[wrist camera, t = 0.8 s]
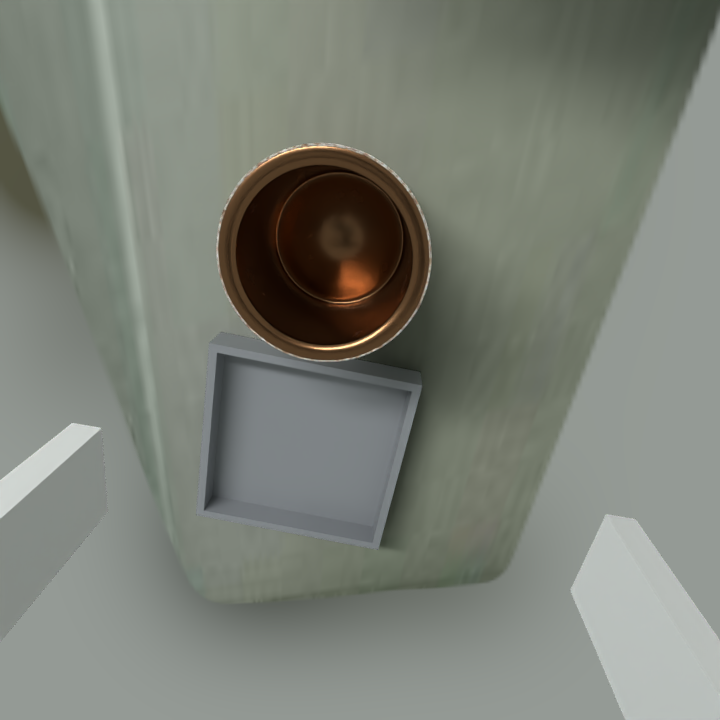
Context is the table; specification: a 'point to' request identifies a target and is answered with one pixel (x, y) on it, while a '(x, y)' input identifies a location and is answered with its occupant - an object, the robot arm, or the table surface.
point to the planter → (324, 252)
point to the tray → (302, 441)
